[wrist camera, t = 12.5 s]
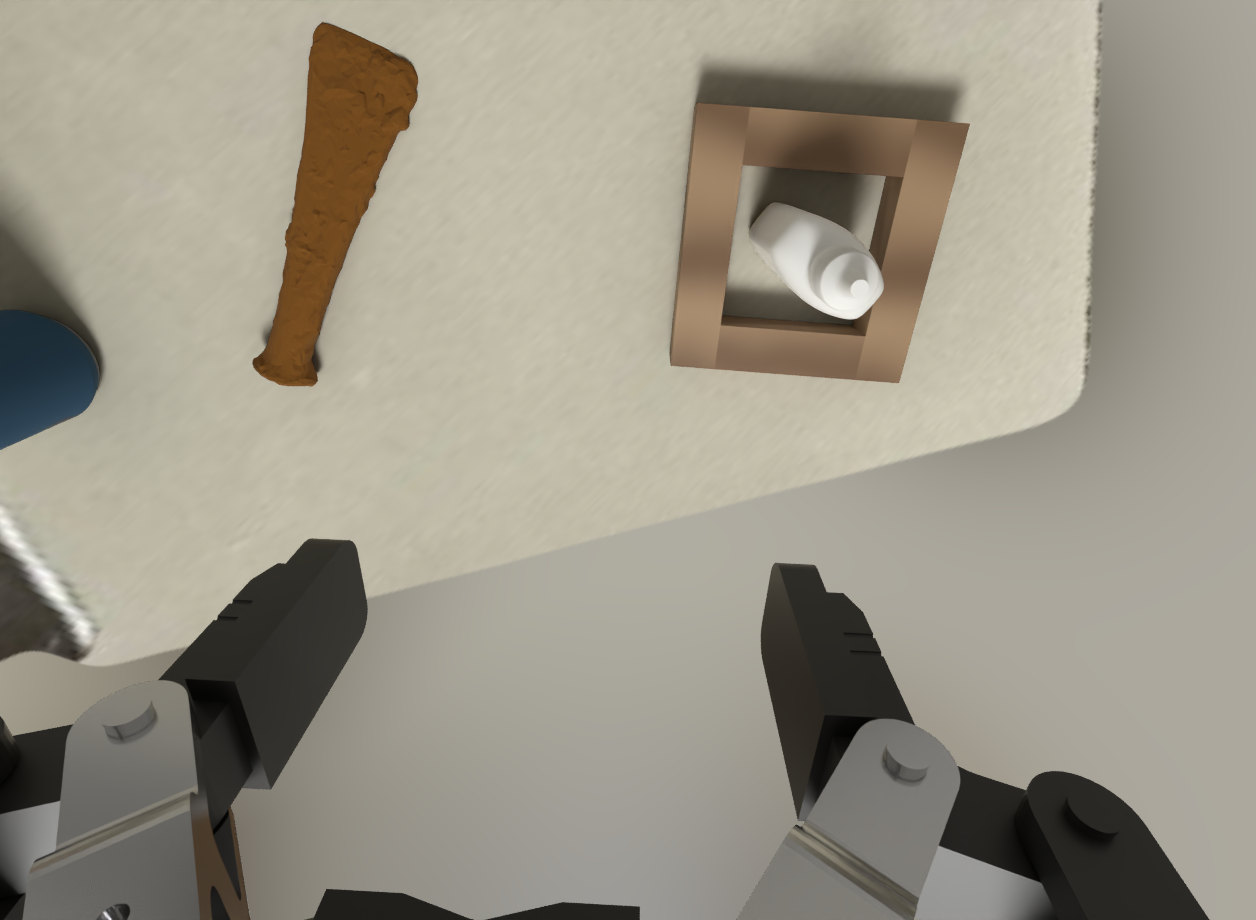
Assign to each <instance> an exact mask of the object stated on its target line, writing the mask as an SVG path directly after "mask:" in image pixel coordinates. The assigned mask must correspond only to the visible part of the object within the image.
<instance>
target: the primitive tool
mask: <svg viewBox="0 0 1256 920" xmlns="http://www.w3.org/2000/svg"><path fill="white" fill-rule="evenodd" d="M417 85H418V76H417V73H416V71H415V69H414V66H412V65H411V64H410V63H409V62H408V61H406V60H404V59H403V58H400V57H398V56H396V55H395V54H393V53H391V52H390V51H388V50H387V49H385V48H384V47H382V46H380V45H377V44H374V43H372V42H369V41H368V40H366V39H364V38H362V37H360V36H357V35H355V34H353V33H351V32H348V31H346V30H343V29H341V28H338V27H336V26H333V25H329V24H325V23H321V24H320V25H319V26H318V27H317V28H316V30H315V32H314V34H313V46H312V47H311V51H310V56H309V73H308V87H307V106H306V123H305V134H304V143H303V148H302V157H301V161H300V166H299V169H298V174H297V182H296V190H295V196H294V200H295V205H294V208H293V214H292V222H291V223H290V224H289V227H288V229H287V230H286V235H285V240H286V244H285V246H286V247H287V256H286V260H285V266H284V270H283V284H282V287H281V290H280V293H279V300H278V306H277V311H276V315H275V318H274V320H273V327H272V330H271V333H270V337H269V341H268V344H267V346H266V348H265V350H264V351H263V352H262V353H261V354H260V355H259V356H258V357H256V358H254V359H253V366H254V368H255V370H256V371H257V372H258V373H259V374H260V375H261V376H263V377H265V378H266V379H268V380H271V381H274V382H276V383H278V384H279V385H285V386H313V385H315V384H316V382H317V381H318V378H317V373H316V371H315V368H314V366H313V363H312V361H311V359H312V356H313V353H314V346H315V343H316V340H317V338H318V336H319V335H320V330H321V324H322V320H323V317H324V315H325V311H326V307H327V305H328V304H329V302H330V298H331V294H332V290H333V288H334V285H335V282H336V279H337V277H338V274H339V272H340V270H341V269H342V265H343V261H344V259H345V257H346V254H347V250H348V248H349V246H350V243H351V241H352V238H353V236H354V233H355V230H356V228H357V227H358V225H359V223H360V218H361V217H362V216H363V214H364V213H365V212H366V210H367V208H368V203H369V200H370V198H371V197H373V195H374V193H375V183H376V181H377V180H378V177H379V173H380V171H381V169H382V167H383V165H384V163H385V161H386V160H387V157H388V153H389V152H390V150H391V148H392V146H393V144H394V142H395V139H396V137H397V134H398V133H399V131H403V130H406V129H407V128H408V127H409V121H408V118H409V113H410V111H411V110H412V109H413V107H414V105H415V103H416V101H417V96H418V95H417V93H416V88H417Z"/></svg>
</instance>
